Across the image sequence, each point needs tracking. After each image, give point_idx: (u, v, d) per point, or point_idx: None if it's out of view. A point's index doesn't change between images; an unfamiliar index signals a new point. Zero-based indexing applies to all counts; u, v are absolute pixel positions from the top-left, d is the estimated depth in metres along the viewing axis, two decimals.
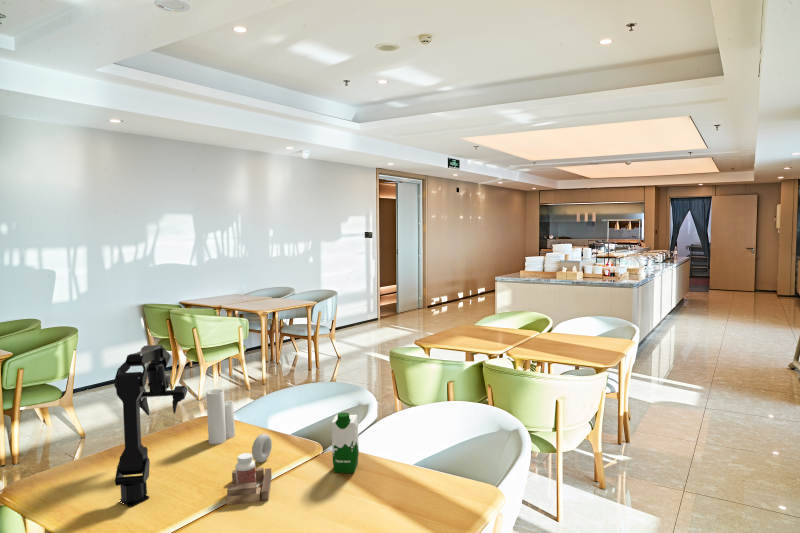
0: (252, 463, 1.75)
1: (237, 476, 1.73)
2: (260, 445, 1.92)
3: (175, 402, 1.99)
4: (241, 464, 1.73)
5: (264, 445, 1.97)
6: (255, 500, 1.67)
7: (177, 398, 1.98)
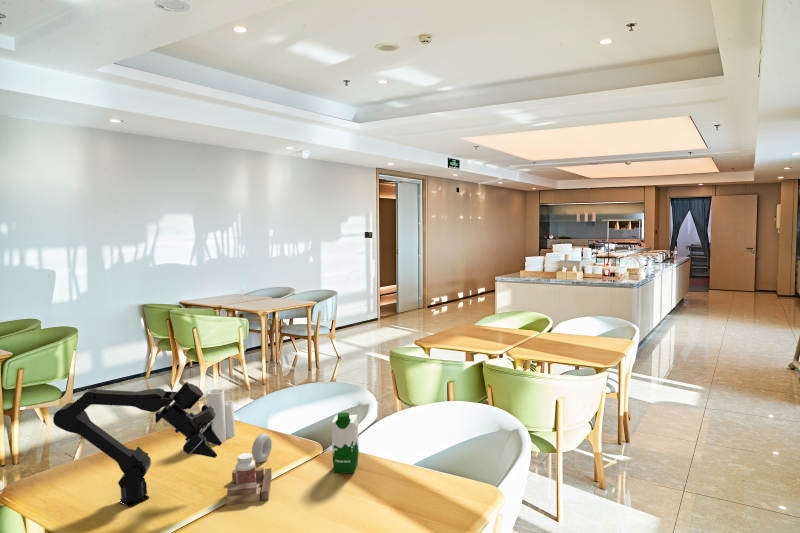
0: (252, 463, 1.75)
1: (237, 476, 1.73)
2: (260, 445, 1.92)
3: None
4: (241, 464, 1.73)
5: (264, 445, 1.97)
6: (255, 500, 1.67)
7: None
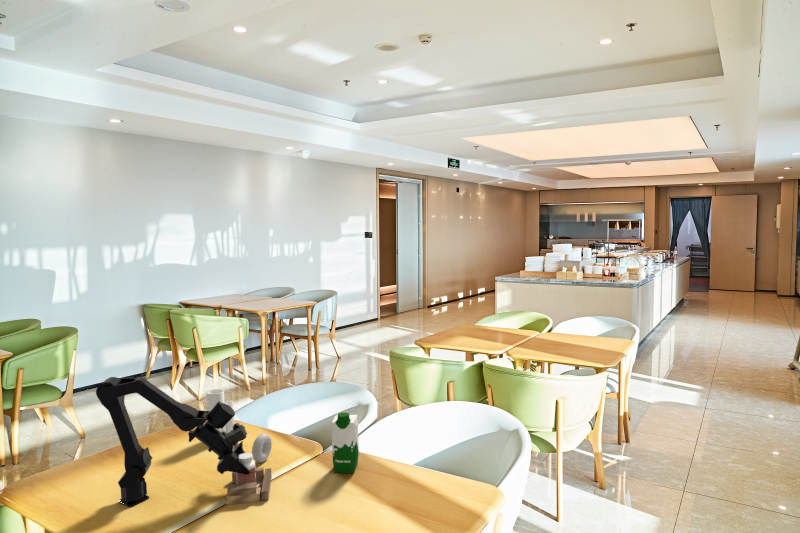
0: (252, 463, 1.75)
1: (237, 476, 1.73)
2: (260, 445, 1.92)
3: None
4: None
5: (264, 445, 1.97)
6: (255, 500, 1.67)
7: None
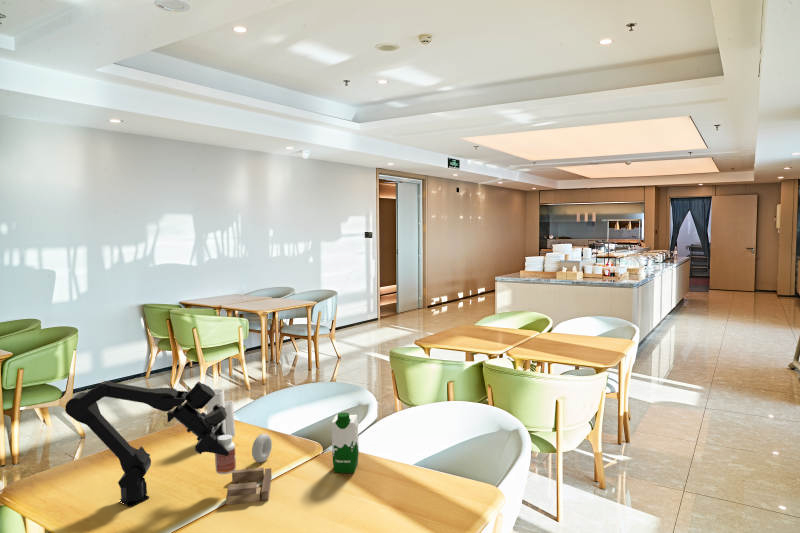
0: (232, 444, 1.73)
1: (216, 457, 1.71)
2: (260, 445, 1.92)
3: None
4: None
5: (264, 445, 1.97)
6: (255, 500, 1.67)
7: None
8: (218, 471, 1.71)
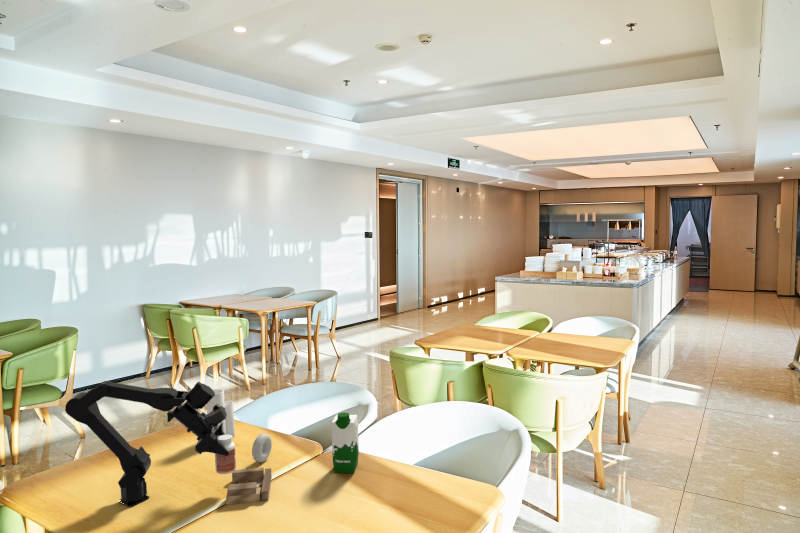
0: (232, 444, 1.73)
1: (216, 457, 1.71)
2: (260, 445, 1.92)
3: None
4: None
5: (264, 445, 1.97)
6: (255, 500, 1.67)
7: None
8: (218, 471, 1.71)
